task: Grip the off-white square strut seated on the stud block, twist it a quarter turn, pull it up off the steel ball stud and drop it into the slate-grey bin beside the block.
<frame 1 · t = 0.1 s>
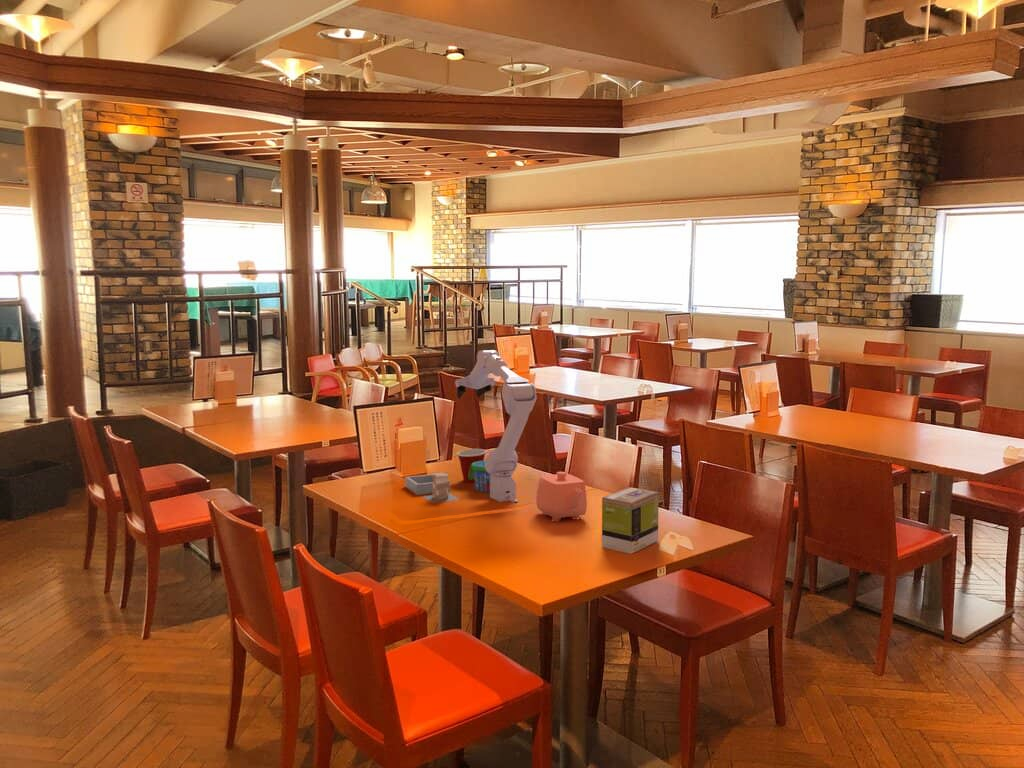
hand: (468, 395, 298), 32 cm above the table, tool tilted 50°, fingers open, 7 cm apart
tea box: (629, 545, 231), on the table
stud block: (440, 500, 275), on the table
snack cup: (486, 492, 287), on the table, touching arm
strut: (440, 497, 275), point 1 cm above the table, touching stud block
plastic cup: (471, 483, 299), on the table
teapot: (561, 517, 258), on the table
bin: (427, 491, 287), on the table
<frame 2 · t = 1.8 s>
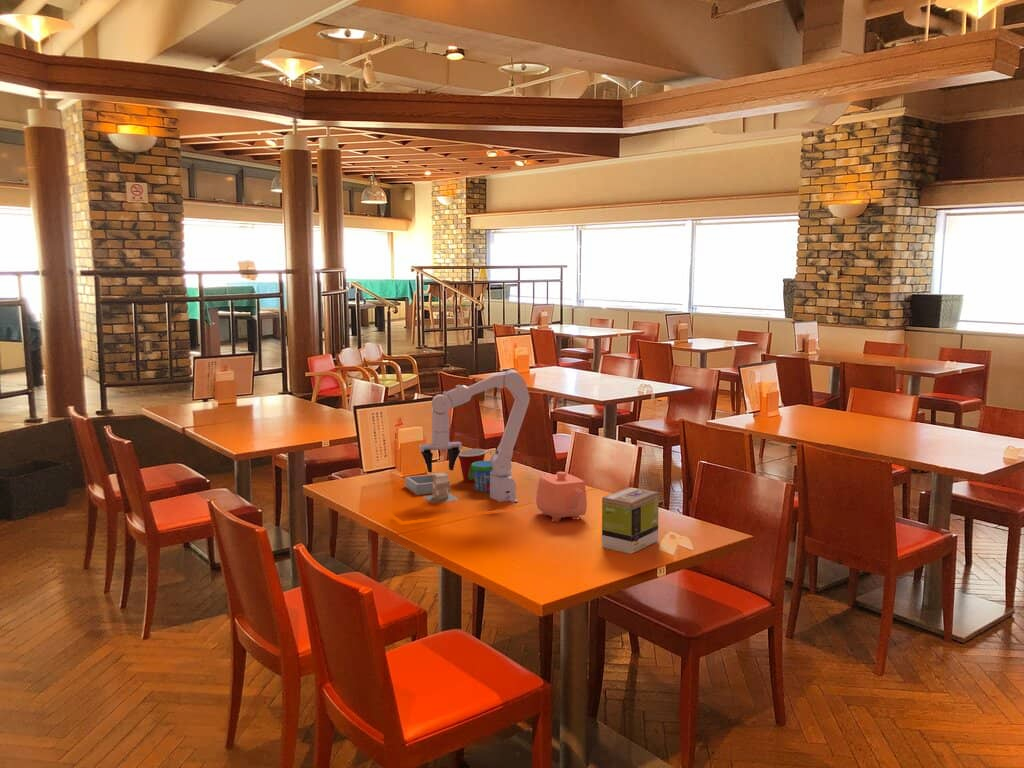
hand: (440, 470, 274), 10 cm above the table, tool pointing down, fingers open, 7 cm apart
nothing on the table moved.
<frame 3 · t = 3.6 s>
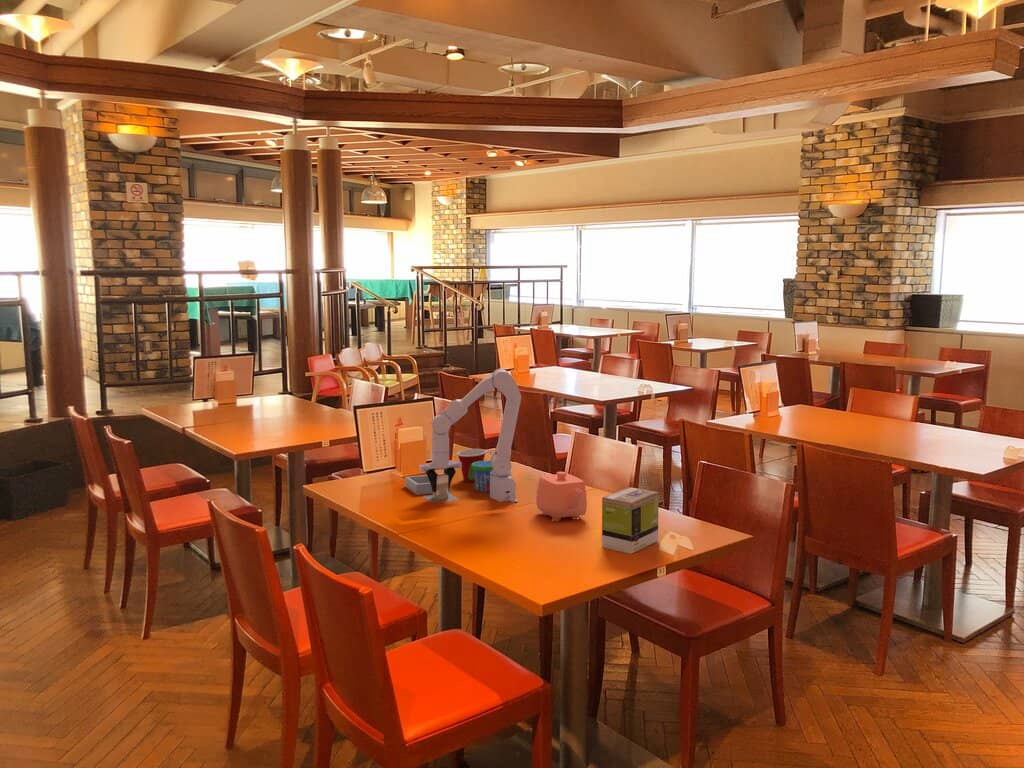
hand: (440, 490, 275), 3 cm above the table, tool pointing down, fingers closed on strut, 4 cm apart
strut: (440, 497, 275), point 1 cm above the table, touching gripper, stud block
everything else where it was.
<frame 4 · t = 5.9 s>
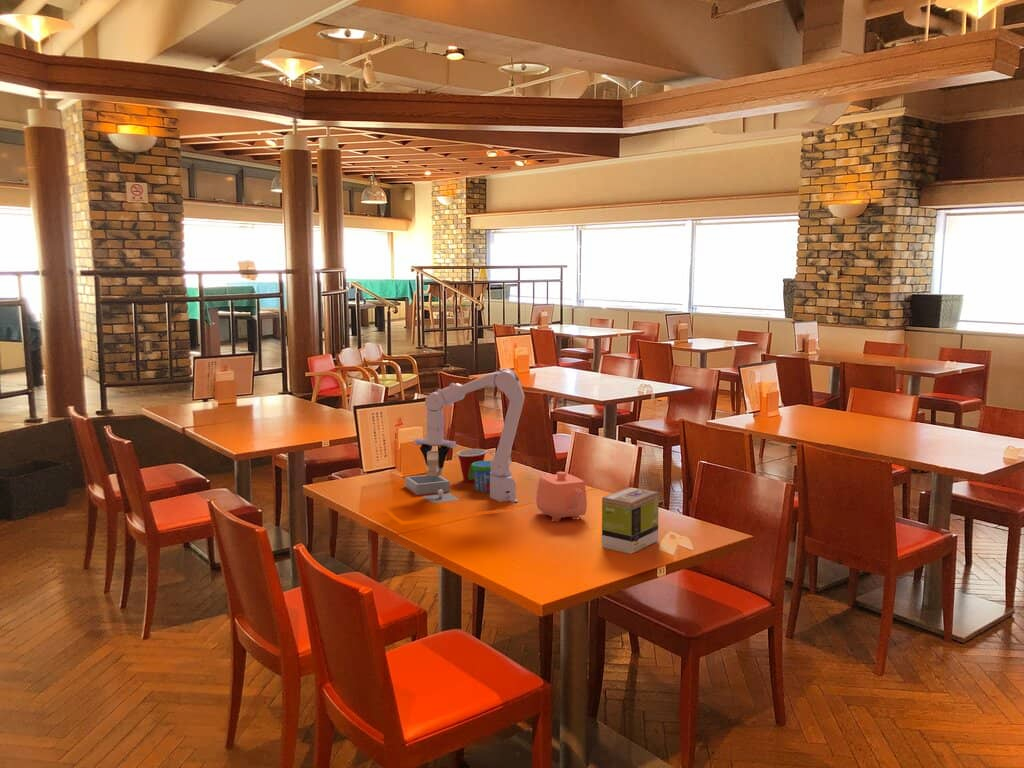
hand: (434, 467, 278), 10 cm above the table, tool pointing down, fingers closed on strut, 4 cm apart
strut: (434, 474, 278), point 8 cm above the table, touching gripper
everything else where it was.
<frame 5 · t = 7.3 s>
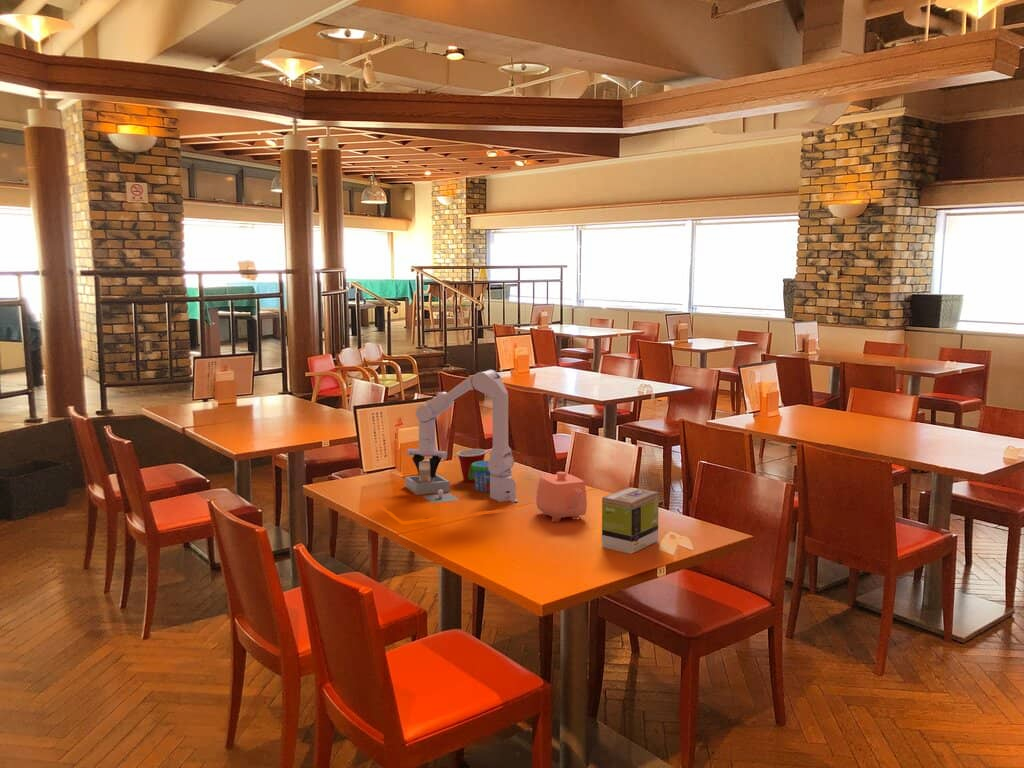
hand: (427, 476, 286), 5 cm above the table, tool pointing down, fingers closed on strut, 4 cm apart
strut: (426, 483, 286), point 3 cm above the table, touching gripper
everything else where it was.
when the fingers open (5 cm above the table, at t = 8.2 s): strut drops 1 cm, resting on bin.
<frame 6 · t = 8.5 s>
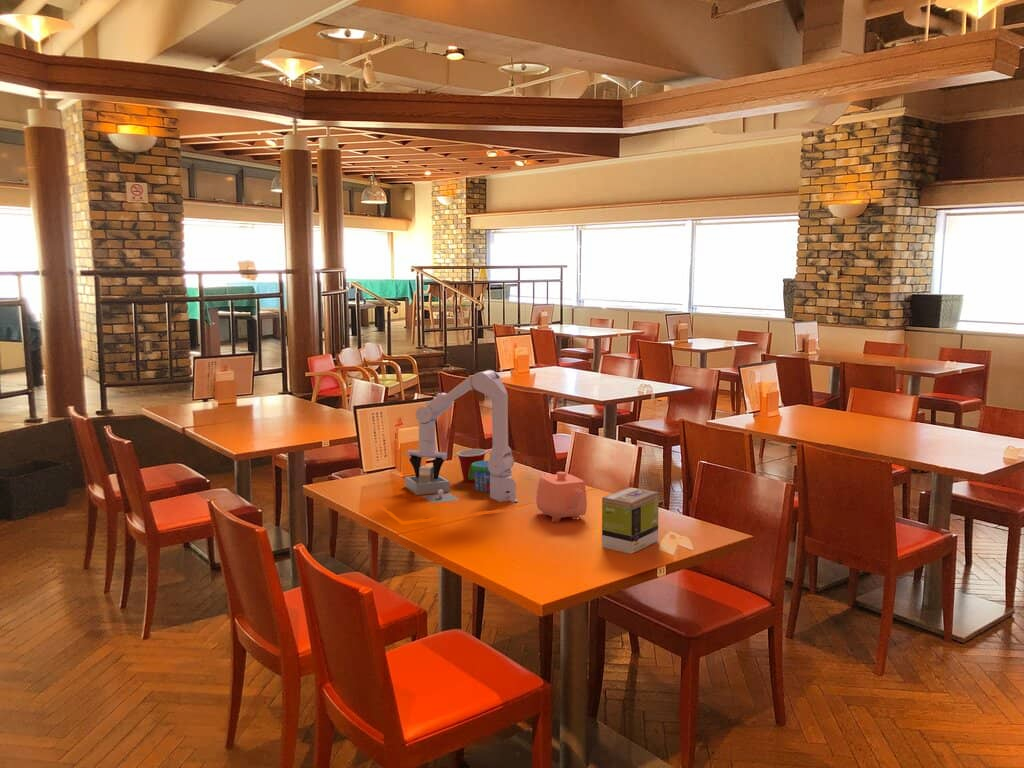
hand: (427, 477, 286), 5 cm above the table, tool pointing down, fingers open, 6 cm apart
strut: (426, 489, 286), point 1 cm above the table, touching bin
everything else where it was.
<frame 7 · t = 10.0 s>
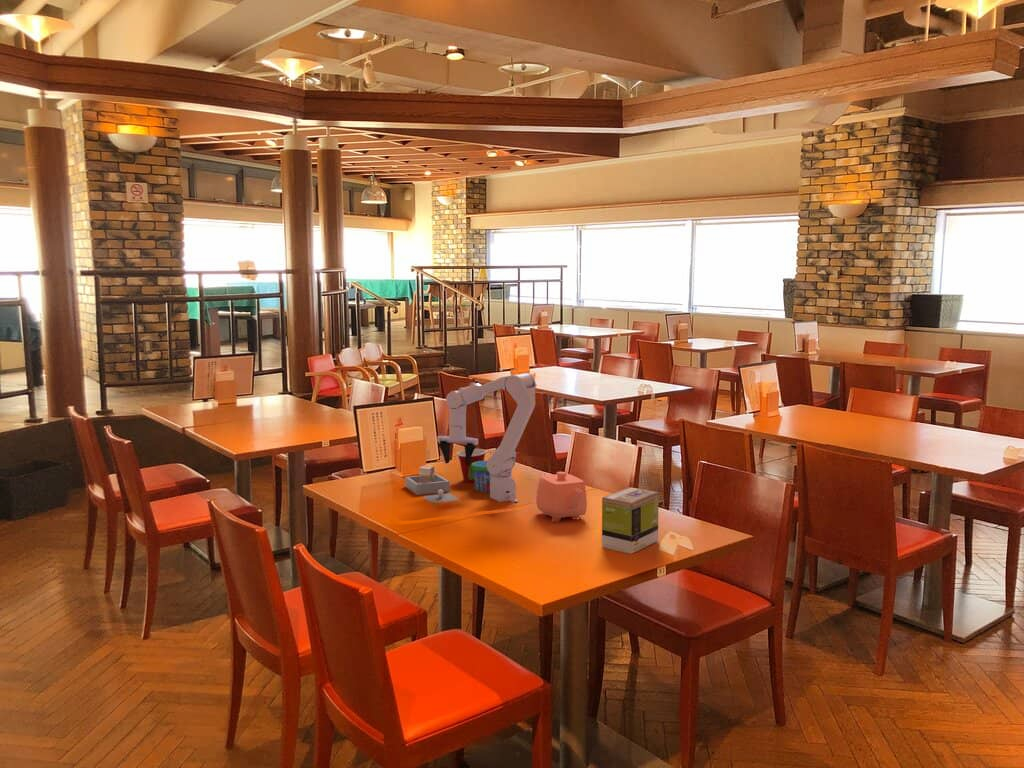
hand: (457, 463, 284), 10 cm above the table, tool pointing down, fingers open, 7 cm apart
nothing on the table moved.
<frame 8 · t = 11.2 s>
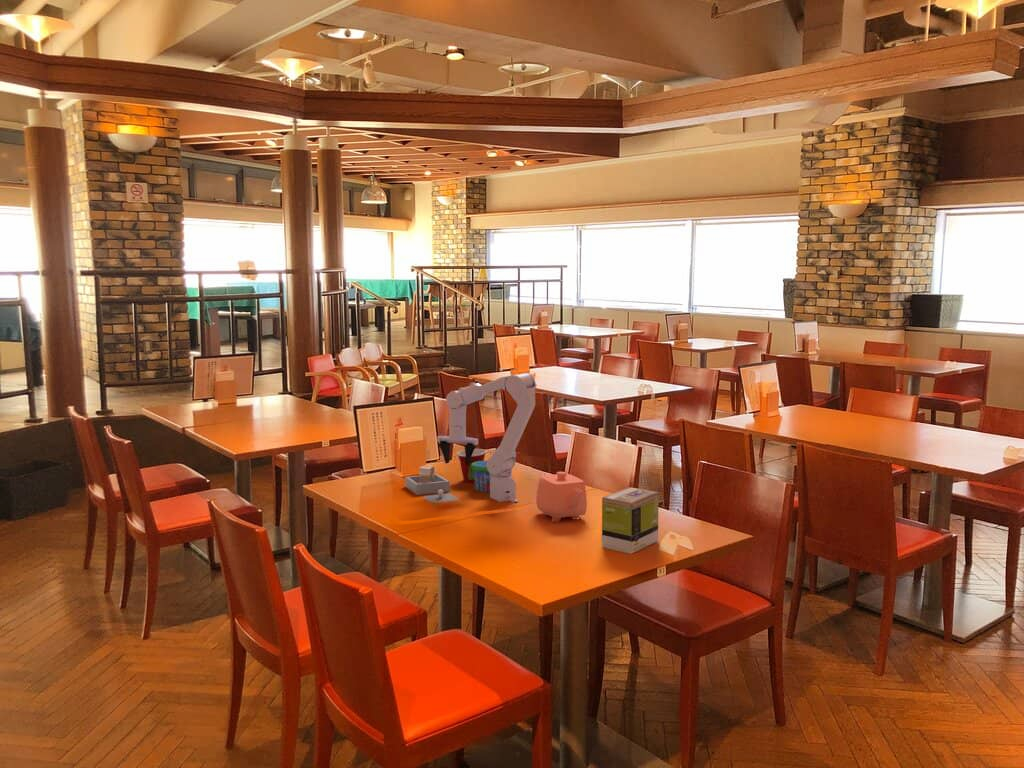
hand: (457, 463, 284), 10 cm above the table, tool pointing down, fingers open, 7 cm apart
nothing on the table moved.
at the end: strut inside the target area on the bin (0.1 cm from its centre), point 0.8 cm above the bin's base; the gripper is holding nothing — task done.
